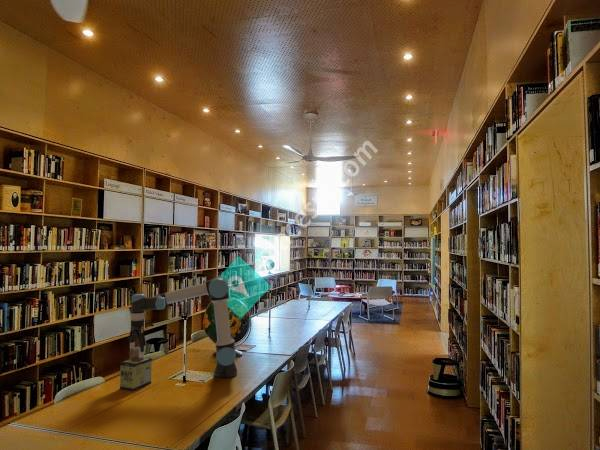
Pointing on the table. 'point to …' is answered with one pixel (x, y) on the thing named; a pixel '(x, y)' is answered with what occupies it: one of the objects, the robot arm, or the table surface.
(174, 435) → the table surface
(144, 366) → the protein box
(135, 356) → the walnut block
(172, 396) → the table surface
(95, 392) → the table surface
